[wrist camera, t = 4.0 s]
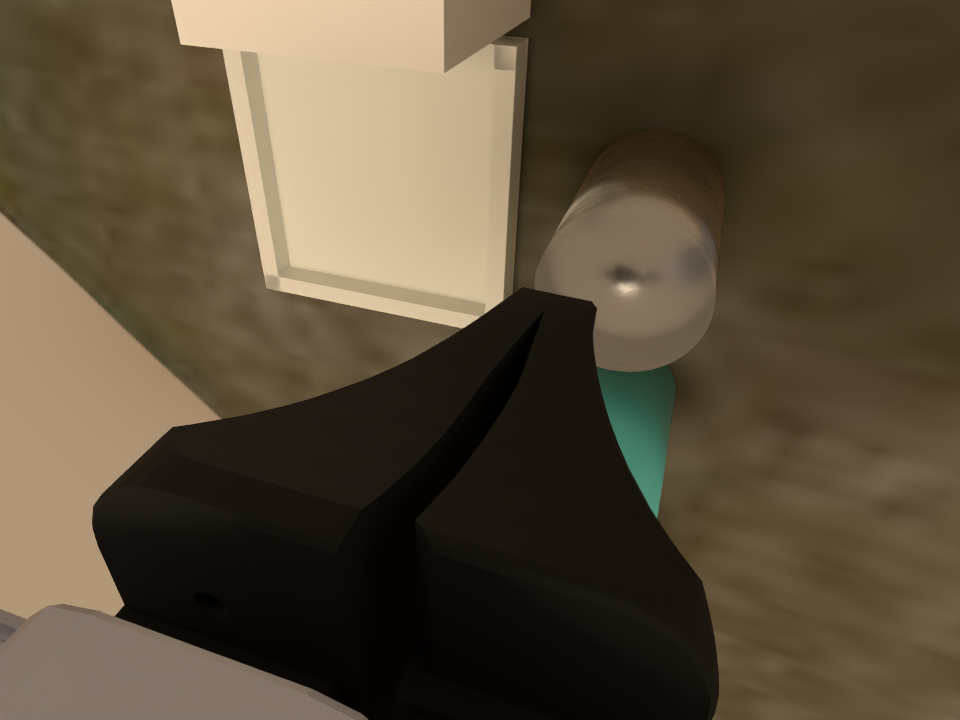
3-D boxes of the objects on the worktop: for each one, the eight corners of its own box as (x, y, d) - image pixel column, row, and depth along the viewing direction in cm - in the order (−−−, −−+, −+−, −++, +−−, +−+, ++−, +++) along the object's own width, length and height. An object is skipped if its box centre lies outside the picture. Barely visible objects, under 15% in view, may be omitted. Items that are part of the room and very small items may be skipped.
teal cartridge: (686, 351, 22) (669, 477, 18) (664, 441, 25) (643, 572, 20) (567, 328, 23) (521, 441, 19) (556, 416, 26) (513, 537, 21)
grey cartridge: (740, 139, 18) (735, 230, 14) (707, 271, 21) (693, 387, 16) (592, 121, 19) (541, 200, 14) (576, 249, 21) (528, 352, 17)
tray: (528, 37, 18) (516, 46, 17) (510, 317, 24) (501, 336, 23) (240, 10, 21) (216, 17, 20) (283, 273, 26) (266, 288, 25)
